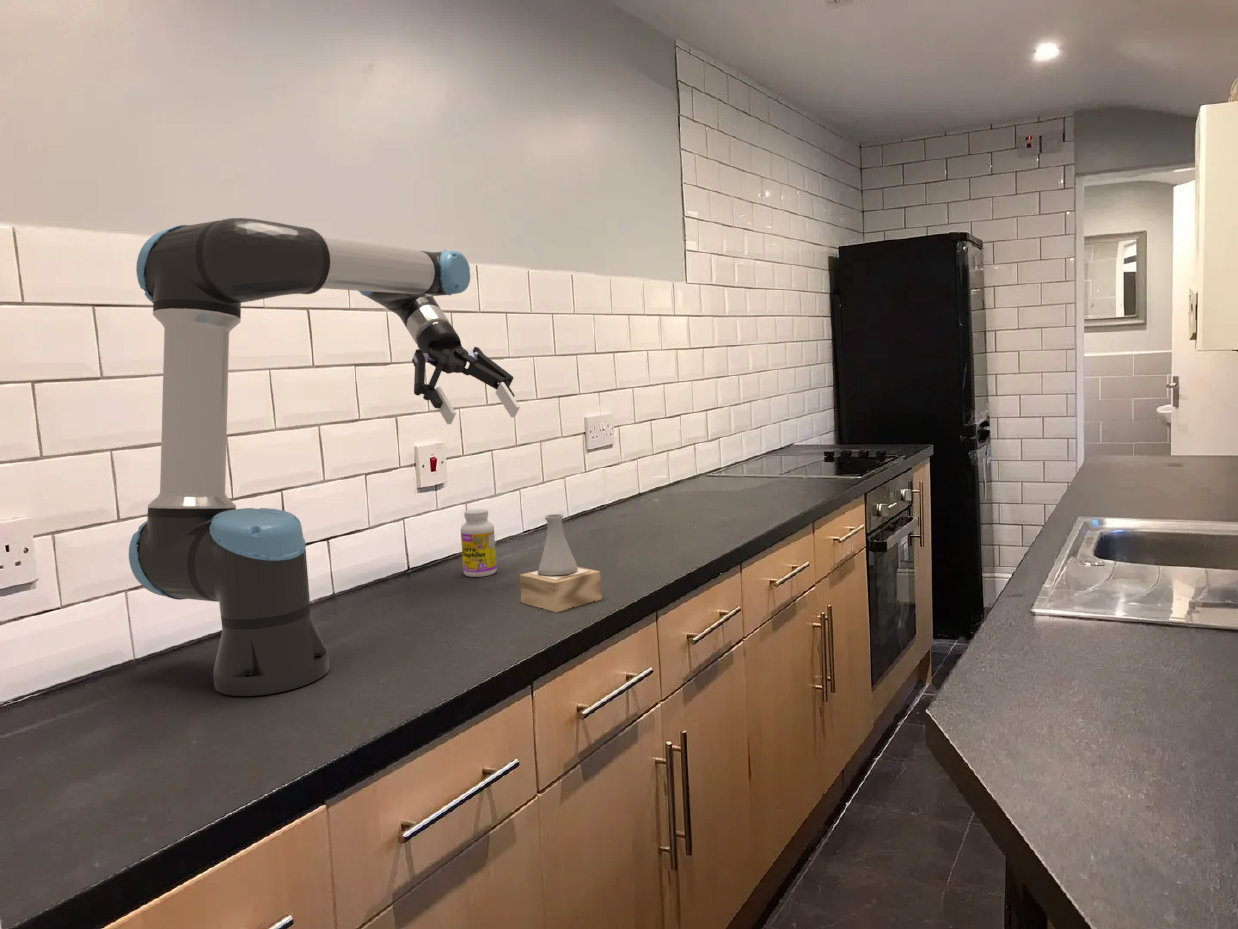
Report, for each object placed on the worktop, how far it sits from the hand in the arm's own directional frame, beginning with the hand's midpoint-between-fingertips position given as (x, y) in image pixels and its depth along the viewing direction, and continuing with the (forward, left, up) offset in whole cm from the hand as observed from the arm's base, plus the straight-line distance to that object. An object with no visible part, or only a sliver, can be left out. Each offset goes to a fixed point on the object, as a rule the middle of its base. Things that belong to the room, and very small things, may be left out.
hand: (484, 415), depth 163 cm
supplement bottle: (+7, +16, -33) cm, 37 cm away
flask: (+4, -13, -28) cm, 31 cm away
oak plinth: (+4, -14, -33) cm, 36 cm away
